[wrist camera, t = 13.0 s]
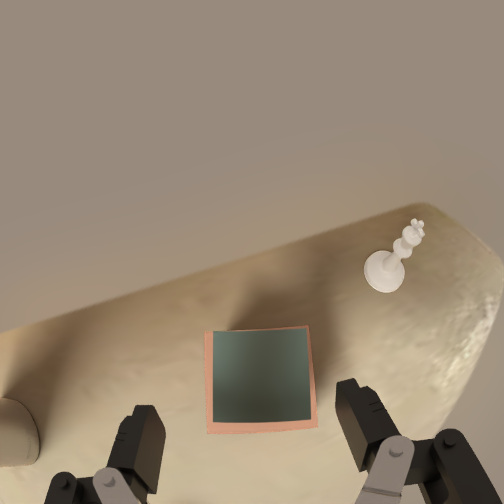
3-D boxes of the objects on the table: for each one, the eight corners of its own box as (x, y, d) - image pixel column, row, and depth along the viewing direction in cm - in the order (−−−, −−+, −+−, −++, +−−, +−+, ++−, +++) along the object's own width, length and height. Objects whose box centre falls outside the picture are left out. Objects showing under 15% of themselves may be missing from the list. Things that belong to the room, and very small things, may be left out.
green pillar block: (232, 413, 19) (212, 422, 12) (231, 354, 21) (213, 331, 14) (294, 411, 18) (311, 419, 11) (292, 352, 21) (306, 328, 14)
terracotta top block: (215, 428, 21) (207, 433, 18) (212, 340, 25) (204, 331, 22) (310, 422, 21) (317, 427, 18) (303, 334, 25) (308, 324, 22)
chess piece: (391, 247, 32) (426, 195, 23) (409, 284, 29) (453, 240, 20) (356, 259, 31) (386, 205, 22) (374, 298, 29) (414, 255, 20)
